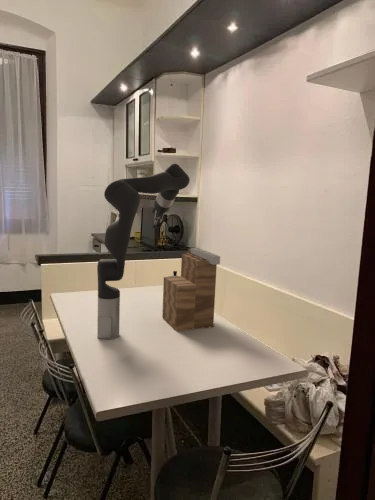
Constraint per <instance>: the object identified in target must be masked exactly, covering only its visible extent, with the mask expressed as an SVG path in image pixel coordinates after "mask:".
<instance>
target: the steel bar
mask: <svg viewBox="0 0 375 500" xmlns="http://www.w3.org/2000/svg"><path fill="white" fill-rule="evenodd" d="M190 249H191V250H190V254H192V255H194V256H196V257H199V258H201V259H203V261H205V262H208V263H210V264H212V265H216V264H217V265H220V264H221V256H220V255H218V254H215V253H212V252H209V251H207V250H204V249H202V248H199V247H190Z"/></svg>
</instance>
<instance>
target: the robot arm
mask: <svg viewBox="0 0 375 500" xmlns="http://www.w3.org/2000/svg"><path fill="white" fill-rule="evenodd" d="M189 184H190V176H189V175H188V173H186V172H185V170H184V169H183V168H182V167H181V166H180V165H179V164H177V163H171V164H169V165H168V166H167V167H166V168H165V171H162V172H161V171H160V172H159V173H156V174H152V175H149V176H142V177H129V178H121V179H120V178H119V179H116V180H114V181H112V182H110V183H109V184H108V185H107V186H106V188H105V190H104V199H105V200H106V201H107V203H109V204H110V205H111V207H113V208H114V209H115V210H117V212H118V214H119V216H118V219H117V220H115V221H113V222H111V223H110V224H109V225H108V226H107V228H106V230H105V237H104V247H105V248H106V250H107V251H108V252H109V253H110V254H111V255H112V256H113V257H114V258H112V259H111V258H106V259H105V258H104V259H102V258H101V259H99V260H97V261H98V262H97V266H96V269H97V273H96V274H97V339H104V340H112V339H116V338H117V337H119V336H120V318H121V317H120V314H121V313H120V311H121V310H120V308H121V305H120V303H121V290H120V289H118V288H117V287H114V286H111V285H109V284H107V282H118V281H121V280H122V279H123V278H124V277H123V276H124V273H125V266H126V257H127V252H128V247H129V244H130V239H131V234H132V229H133V225H134V221H135V217H136V215H137V211H138V209H139V207H140V203H141V202H140V201H141V195H140V193H141V194H149V195H151V194H153V195H156V194H157V195H156V197H155V199H154V201H153V208H152V209H151V212H152V214H154V223H153V224H152V228H153V229H158V228H162V225H163V223H164V222H165V218H164V215H165V214H166V213H167V212H170V209H171V207H172V206H173V203H174V202H175V200H176V197H177V196H178V194H179V192H180V191H181V190H183V189H185V188H187V187H188V185H189Z"/></svg>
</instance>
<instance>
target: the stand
mask: <svg viewBox="0 0 375 500" xmlns="http://www.w3.org/2000/svg"><path fill="white" fill-rule="evenodd" d="M190 250H191V248H188V249H187V251H186V252H185V253H181V265H180V266H181V267H180V275H177V276H173V275H172V276H173V277H168V276H163V289H162V292H163V294H162V317H161V318H163V319H162V320H163V321H165V323H167V324H168V326H170V327H171V328H172V329H173V330H174V331H175V332H179V331H181V332H182V331H187V330H188V331H189V330H197V329H198V330H199V329H207V328H213V327H214V322H215V321H214V319H215V305H216V304H215V303H216V300H215V299H216V286H217V285H216V284H217V283H216V282H217V268H218V267H217V265H218V264H216V265H212V264H210V263H208V262H205V261H203V259H201V258H199V257H196V256H194V255H192V254H190Z"/></svg>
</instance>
